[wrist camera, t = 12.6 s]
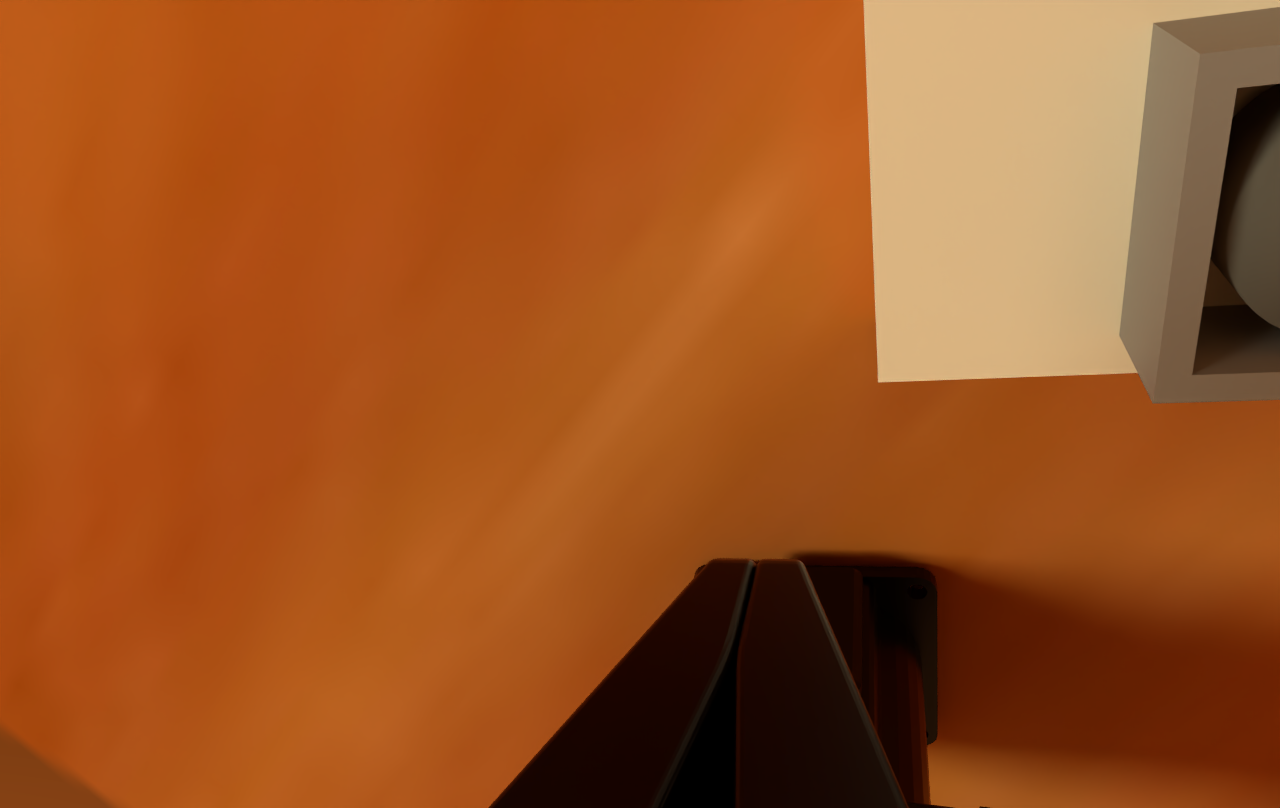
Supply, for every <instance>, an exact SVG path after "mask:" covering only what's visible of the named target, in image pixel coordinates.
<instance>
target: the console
mask: <svg viewBox="0 0 1280 808" xmlns="http://www.w3.org/2000/svg"><path fill="white" fill-rule="evenodd" d="M864 25H865V50H866V76H867V102H868V128H869V154H870V180H871V206H872V232H873V258H874V284H875V310H876V336H877V362H878V382H901V381H928V380H955V379H983V378H1010V377H1038V376H1065V375H1092V374H1120V373H1138V374H1139V376H1140V378H1141V380H1142V382H1143V384H1144V386H1145V388H1146V390H1147V392H1148V394H1149V396H1150V398H1151V400H1152V402H1153V403H1184V402H1219V401H1254V400H1280V328H1278V327H1276V326H1274V325H1272V324H1270V323H1268V322H1267V321H1266V320H1264V319H1263V318H1262V317H1260V316H1259V315H1258V314H1256V313H1255V312H1254V311H1253V310H1252V309H1251V308H1250V307H1249V306H1248V305H1247V304H1246V303H1245V301H1244V300H1243V299H1242V298H1241V296H1240V295H1239V294H1238V293H1237V291H1236V290H1235V289H1234V288H1233V286H1232V285H1231V284H1230V283H1229V281H1228V280H1227V279H1226V278H1225V277H1224V275H1223V274H1222V273H1221V272H1220V270H1219V269H1218V268H1217V267H1216V265H1215V264H1214V263H1213V262H1212V260H1211V259H1210V257H1211V251H1212V245H1213V238H1214V232H1215V226H1216V219H1217V213H1218V207H1219V200H1220V194H1221V187H1222V181H1223V175H1224V168H1225V162H1226V156H1227V149H1228V143H1229V136H1230V130H1231V124H1232V118H1233V117H1234V116H1235V115H1236V114H1237V113H1238V112H1239V111H1240V110H1241V109H1242V108H1243V107H1244V106H1246V105H1247V104H1248V103H1249V102H1251V101H1252V100H1253V99H1255V98H1256V97H1257V96H1258V95H1260V94H1261V93H1263V92H1264V91H1266V90H1267V89H1269V88H1270V87H1272V86H1274V85H1275V84H1280V0H864Z"/></svg>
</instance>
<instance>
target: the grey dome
mask: <svg viewBox="0 0 1280 808" xmlns="http://www.w3.org/2000/svg"><path fill="white" fill-rule="evenodd" d="M1210 259H1211V260H1212V262H1213V263H1214V264H1215V265H1216V267H1217V268H1218V269H1219V270H1220V272H1221V273H1222V274H1223V275H1224V277H1225V278H1226V279H1227V280H1228V281H1229V283H1230V284H1231V285H1232V286H1233V288H1234V289H1235V290H1236V291H1237V293H1238V294H1239V295H1240V296H1241V298H1242V299H1243V300H1244V301H1245V303H1246V304H1247V305H1248V306H1249V307H1250V308H1251V309H1252V310H1253V311H1254V312H1255V313H1256V314H1258V315H1259V316H1260V317H1262V318H1263V319H1264V320H1266V321H1267V322H1268V323H1270V324H1272V325H1274V326H1276V327H1278V328H1280V84H1275V85H1274V86H1272V87H1270V88H1269V89H1267V90H1266V91H1264V92H1263V93H1261V94H1260V95H1258V96H1257V97H1256V98H1255V99H1253V100H1252V101H1251V102H1249V103H1248V104H1247V105H1246V106H1244V107H1243V108H1242V109H1241V110H1240V111H1239V112H1238V113H1237V114H1236V115H1235V116H1234V117H1233V118H1232V124H1231V130H1230V136H1229V143H1228V149H1227V156H1226V162H1225V168H1224V175H1223V181H1222V187H1221V194H1220V200H1219V207H1218V213H1217V219H1216V226H1215V232H1214V238H1213V245H1212V251H1211V257H1210Z"/></svg>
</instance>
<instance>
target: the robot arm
mask: <svg viewBox="0 0 1280 808" xmlns="http://www.w3.org/2000/svg"><path fill="white" fill-rule="evenodd" d="M912 585H921V586H923V588H920V589H914V588H911V587H910V586H912ZM936 738H937V586H936V580H935V576H934V575H933V574H932V573H931V572H930V571H928V570H926V569H924V568H918V567H866V566H805V565H804V564H803V563H802V562H801V561H800V560H797V559H762V560H761V561H759V562H758V564H757V565H756V563H755V562H754V561H753V560H751V559H733V558H717V559H713V560H711V561H710V562H708V563H707V564H706V565H703V566H701V567H699V568H698V569H697V571H696V572H695V576H694V579H693V580H692V581H691V582H690V583H689V584H688V586H687V587H686V588H685V589H684V590H683V591H682V592H681V593H680V594H679V596H678V597H677V598H676V599H675V600H674V601H673V602H672V603H671V605H670V606H669V607H668V608H667V609H666V610H665V611H664V612H663V613H662V615H661V616H660V617H659V618H658V619H657V620H656V621H655V622H654V623H653V625H652V626H651V627H650V628H649V629H648V630H647V631H646V632H645V634H644V635H643V636H642V637H641V638H640V639H639V640H638V641H637V642H636V644H635V645H634V646H633V647H632V648H631V649H630V650H629V651H628V653H627V654H626V655H625V656H624V657H623V658H622V659H621V660H620V661H619V663H618V664H617V665H616V666H615V667H614V668H613V669H612V670H611V672H610V673H609V674H608V675H607V676H606V677H605V678H604V679H603V680H602V682H601V683H600V684H599V685H598V686H597V687H596V688H595V689H594V691H593V692H592V693H591V694H590V695H589V696H588V697H587V698H586V699H585V701H584V702H583V703H582V704H581V705H580V706H579V707H578V708H577V709H576V711H575V712H574V713H573V714H572V715H571V716H570V717H569V718H568V720H567V721H566V722H565V723H564V724H563V725H562V726H561V727H560V728H559V730H558V731H557V732H556V733H555V734H554V735H553V736H552V737H551V739H550V740H549V741H548V742H547V743H546V744H545V745H544V746H543V747H542V749H541V750H540V751H539V752H538V753H537V754H536V755H535V756H534V758H533V759H532V760H531V761H530V762H529V763H528V764H527V765H526V766H525V768H524V769H523V770H522V771H521V772H520V773H519V774H518V775H517V776H516V778H515V779H514V780H513V781H512V782H511V783H510V784H509V785H508V787H507V788H506V789H505V790H504V791H503V792H502V793H501V794H500V795H499V797H498V798H497V799H496V800H495V801H494V802H493V803H492V804H491V806H490V807H489V808H953V807H945V806H937V805H931V801H930V786H929V770H928V754H927V745H928V744H931V743H933V742H934V741H935V740H936ZM980 808H988V807H980Z"/></svg>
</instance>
